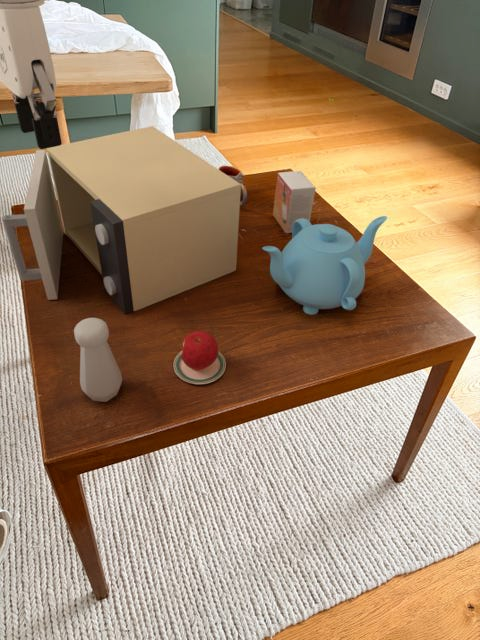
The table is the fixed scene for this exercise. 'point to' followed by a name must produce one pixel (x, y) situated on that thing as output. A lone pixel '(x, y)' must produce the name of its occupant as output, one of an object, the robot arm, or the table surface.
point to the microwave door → (39, 228)
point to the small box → (292, 199)
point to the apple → (199, 359)
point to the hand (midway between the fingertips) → (41, 137)
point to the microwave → (146, 214)
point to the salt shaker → (97, 361)
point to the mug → (237, 176)
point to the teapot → (323, 265)
